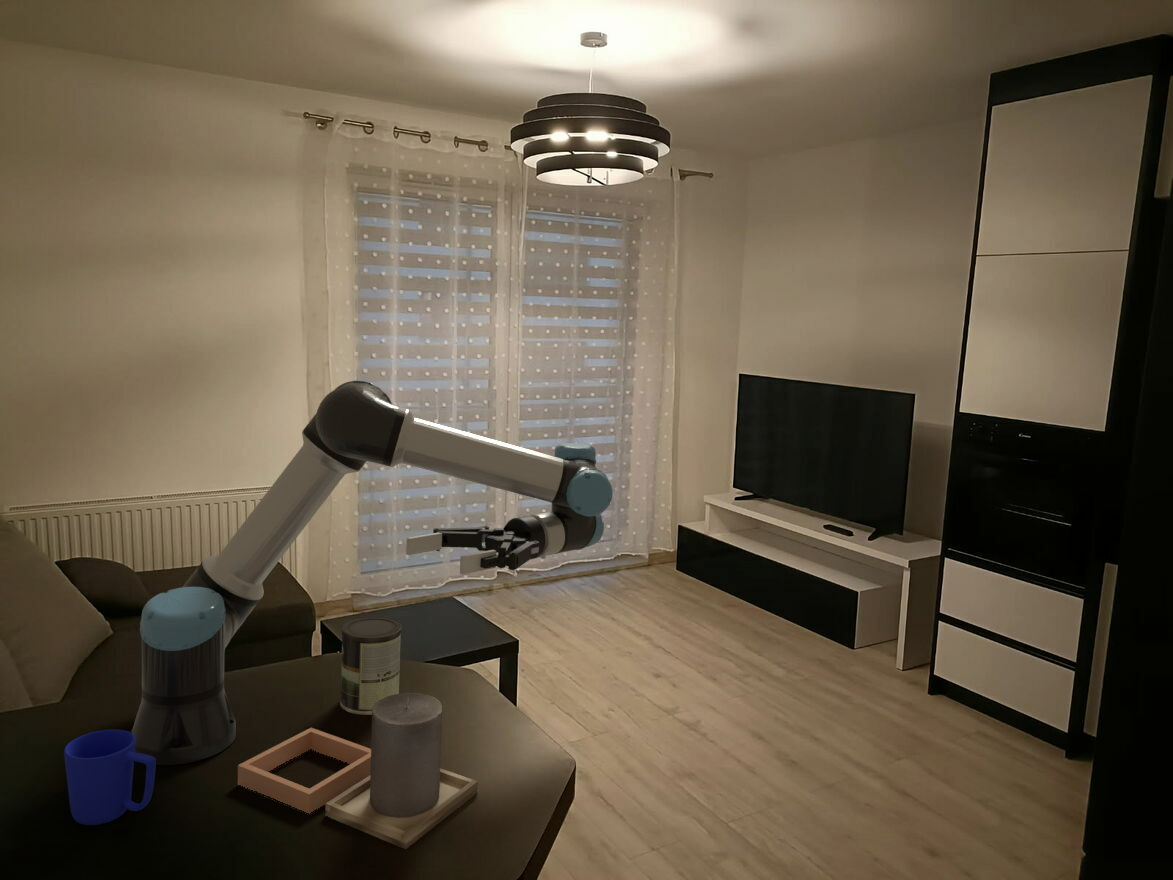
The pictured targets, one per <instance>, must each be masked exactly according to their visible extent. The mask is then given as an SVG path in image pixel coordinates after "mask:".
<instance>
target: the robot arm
mask: <svg viewBox="0 0 1173 880" xmlns="http://www.w3.org/2000/svg"><path fill="white" fill-rule="evenodd" d="M301 437H302V442H303V444H302V446H301V447H300V449H299V450H298V451H297V453H296V454H295V455H294V457H293V458H292V459H291V460H290V462H289V463H288V464H287V466H286V467H285V468H284V469H283V471H281V473H280V474H279V476H278V477H277V479H276V480H275V481H274V483H273V484H272V485H271V487H270V488H269V489H268V490H267V492H266V493H265V494H264V495H263V497H262V498H261V499H260V501H259V502H258V503H257V505H256V506H255V507H254V508H253V510H252V511H251V512H250V514H249V515H248V517H246V519H245V521H243V523H242V525H240V527H239V528H238V529H237V530H236V532H235V533H234V534H233V536H232V537H231V538H230V539H229V541H228V542H227V543H226V545H225V546H224V547H223V548H222V550H221V552H220V553H219V554H216V555H209V556H206V557H204V559H203V560H202V561H201V563H200V564H199V565H198V566H197V568H196V569H195V570H194V572H193V573H192V574H191V575H190V577H189V578H188V579H187V581H186V582H185V583H184V584H183V586H182V587H178V588H172V589H169V590H167V591H166V592H160V593H158V594H157V595H155V596H153V597H151V598H150V599H149V600H147V602H146V604H145V605H144V606H143V608H142V610H141V611H142V612H141V618H140V619H141V620H140V622H139V632H140V654H141V656H140V657H141V659H140V661H141V700H140V701H141V702H140V705H139V707H138V710H137V714H136V717H135V719H134V724H133V727H132V728H131V730H130V731H129V732H130V733H132V734H133V735H134V736H135V738H136V744H135V753H141V754H146V755H150V756H153V757H155V758H156V766H172V765H173V766H175V765H184V764H189V763H193V762H198V761H201V760H205V759H208V758H211V757H213V756H216V755H217V754H220V753H221V752H222V751H224V750H226V749H227V748H229V746H231V744H233V742H234V741H235V739H236V734H237V733H236V732H237V731H236V730H237V728H236V725H237V724H236V719H235V715H234V713H233V709H232V708H231V704H230V702H229V700H228V697H227V694H226V692H225V650H226V648H227V647H228V645H229V643H230V642H231V641H232V638H233V636H234V635H235V634H236V633H237V631H238V630H239V629H240V627H242V625H243V623H245V621H246V619H247V617H249V615H250V614H251V613H252V612H253V610H255V609H254V608H255V607H256V606H257V604H258V603H259V602H260V601H261V599H262V598H263V596H264V593H265V591H264V586H263V582H264V581H265V580H266V578H267V577H268V575H270V574H271V572H272V571H273V569H274V568H275V567H276V565H277V564H278V563H279V561H280V560H281V559H282V557H283V556H284V555H285V554H286V553H287V551H288V550H289V548H290V547H291V545H293V543H294V542H295V541H296V539H297V538H298V537H299V535H300V534H301V533H302V531H303V530H304V529H305V528H306V527H307V525H308V523H309V522H310V521H311V520H312V518H313V517H314V516H315V514H316V513H317V512H318V510H320V508H321V507H322V506H323V504H324V503H325V502H326V500H327V499H328V497H329V496H330V495H331V494H332V492H333V491H334V490H335V488H336V487H337V486H338V485H339V483H340V482H341V481H342V480H343V478H344V477H345V475H347V474H352V473H359V472H360V470H361V469H362V468H363V467H364V465H365V464H366V462H370V463H372V464H373V463H374V464H378V465H382V466H386V467H391V468H393V467H395V466H397V465H399V464H404V465H408V466H411V467H414V468H419V469H423V470H427V471H431V472H435V473H438V474H442V475H446V476H450V477H454V478H457V479H461V480H465V481H468V482H473V483H476V484H480V485H484V486H488V487H492V488H496V489H499V490H502V491H507V492H510V493H514V494H517V495H521V496H525V497H529V498H533V499H536V500H537V499H538V500H541V501H545V502H548V503H550V504H551V511H549V512H547V511H546V512H542V513H541V512H540V513H534V514H529V515H525V516H518V517H513V518H510V520H508V521H507V522H506V524H505V526H504V527H503V528H501V527H500V528H497V527H496V528H493V529H490V526H489V525H488V526H487V525H484V526H477V527H448V528H447V527H445V528H441V527H440V528H439V527H436V528H433V529H432V531H433V533H428V534H422V535H415V536H409V537H406V546H405V547H406V551H405V553H406V555H408V556H412V555H418V554H422V553H427V552H428V553H429V552H434V551H436V552H440V551H441V550H442V548H464V549H465V548H466V549H467V548H468V549H471V548H473V549H476V550H477V551H479V552H475V553H470V554H464V555H460V558H459V575H462V576H463V575H469V574H473V573H478V572H483V571H487V570H490V569H496V567H497V568H499V569H504V568H506V567H508V570H509V571H515V570H517V569H519V568H520V567H521V566H523V565H525V564H526V563H527V562H529V561H530V560H534V559H537V558H540V559H541V560H544V559H546V558H547V556H553V555H556V554H557V555H558V554H560V553H566V552H571V551H580V550H582V549H585V548H589V547H591V546H594V545H596V544H597V543H598V542H599V541H600V540H601V539H602V537H603V534H604V530H605V524H604V522H603V519H602V518H603V517H602V513H603V512H605V511H606V510H607V509H608V507H609V506H610V505H611V502H612V500H613V491H614V490H613V486H612V483H611V482H610V480H609V478H608V477H607V474H606V473H604V472H603V471H602V470H600V469H598V468H597V467H596V464H597V460H596V459H597V458H596V456H597V455H596V448H595V447H594V446H592V445H589V444H584V443H575V442H574V443H572V442H571V443H569V442H568V443H559V444H558V445H556V447H555V449H554V455H549V454H547V453H542V452H539V451H536V450H532V449H529V448H524V447H521V446H517V445H514V444H511V443H506V442H503V441H499V440H497V439H493V438H490V437H489V438H488V437H486V436H481V435H478V434H476V433H472V432H468V431H463V430H461V429H457V428H453V427H449V426H446V425H444V424H439V423H435V422H432V421H429V420H424V419H421V418H418V417H415V416H414V415H413V414H412V412H411V410H410V409H409V408H406V407H403V406H400V405H396V404H394V403H392V401H391V398H390V397H389V396H388V394H387V393H386V392H385V391H384V390H382V389H381V387H379V386H377V385H375V384H373V383H372V382H368V381H367V380H366V381H364V380H351V381H345V382H344V383H342V384H340V385H338V386H336V388H335V389H333V390H332V391H330V392H329V393H328V394H327V395H325V397H324V398H322V400H321V402H320V403H319V405H318V408H317V410H316V412H315V414H314V415H313V416H312V418H311V419H310V421H309V422H308V423H307V425H306V426H305V427H304V429H302V431H301ZM483 543H484V545H483Z"/></svg>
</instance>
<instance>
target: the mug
mask: <svg viewBox="0 0 1173 880" xmlns="http://www.w3.org/2000/svg"><path fill="white" fill-rule="evenodd" d="M130 732H131V731H128V730H124V729H103V730H102V729H101V730H97V731H96V730H95V731H92V732H89V733H84V734H82V735H80V736H78V737H76V738H74V739H73V740H71V741H69V743H67V744H66V746H65V747H64V750H63V757H64V765H65V772H66V780H67V790H68V799H69V807H70V812H71V816H72V817H73V819H74V821H75V822H77V823H78V824H81V825H85V826H98V825H99V826H100V825H103V824H107V823H110V822H112V821H115V820H116V819H118V818H120V817H122V816H123V815H124V814H125V813H126V812H127V810H128V811H133V812H137V811H138V812H139V811H141V810H142V809H143V810H144V808H145V807H147V805H148V804H149V803H150V801H151V799H152V795H153V791H154V787H155V786H154V785H155V779H156V767H157V765H156V758H155V757H153V756H150V755H146V754H141V753H135V744H136V738H135V736H134V735H133V734H132V733H130ZM135 762H137V763H141V764H144V765H145V767H146V771H145V782H144V785H145V786H144V792H143V797H142V800H141V802H140V803H138V802H134V801H133V800H132V794H133V779H134V769H135V767H134V766H135Z"/></svg>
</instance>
